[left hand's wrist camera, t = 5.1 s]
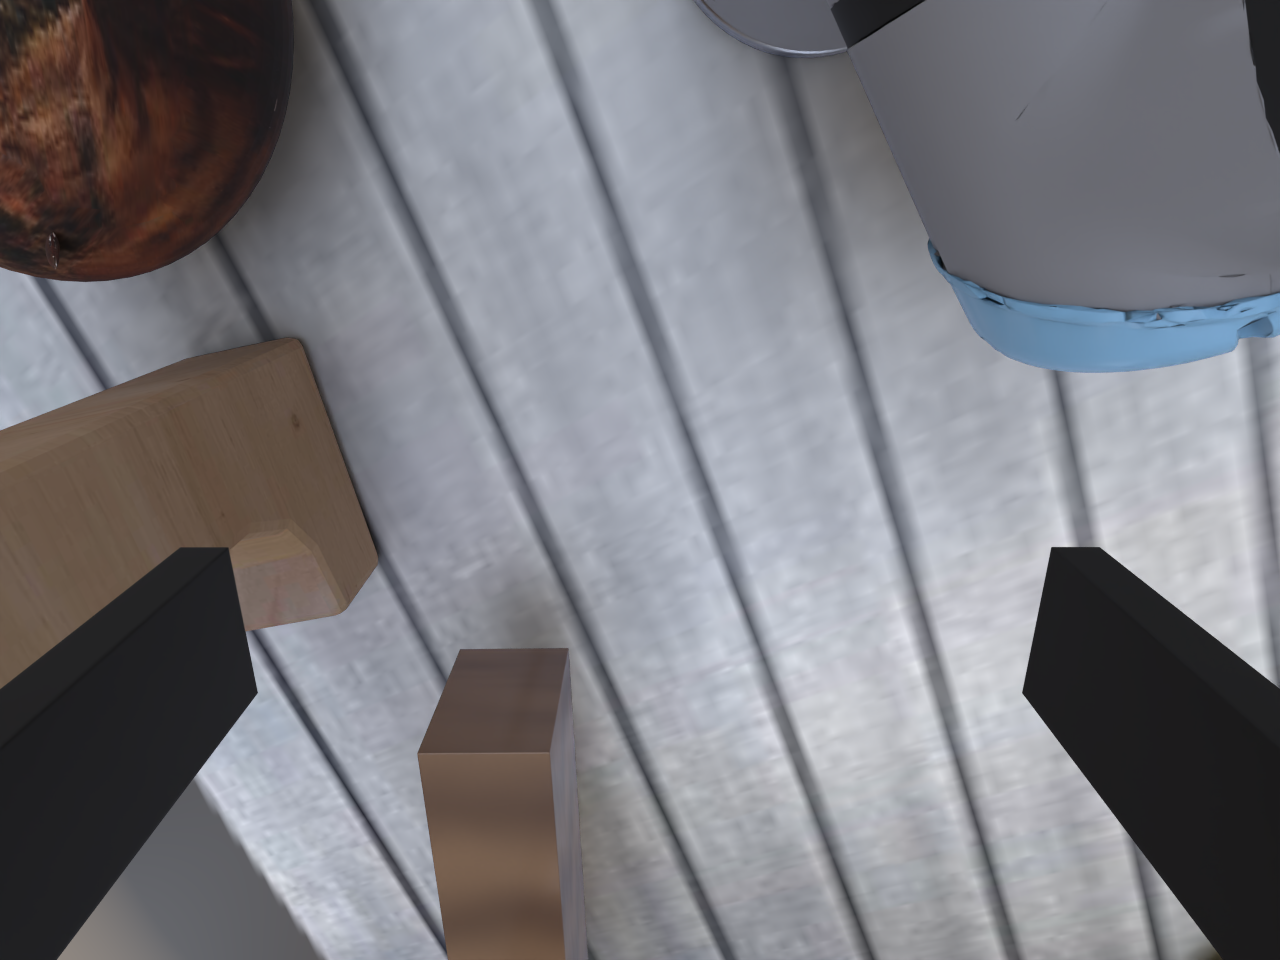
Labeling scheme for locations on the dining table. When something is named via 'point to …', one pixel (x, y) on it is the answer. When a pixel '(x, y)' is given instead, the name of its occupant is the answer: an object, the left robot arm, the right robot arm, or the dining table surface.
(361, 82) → the dining table surface
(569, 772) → the bar
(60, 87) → the cat face balloon
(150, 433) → the decorative block
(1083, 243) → the left robot arm
